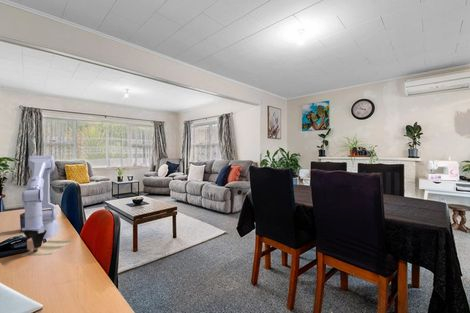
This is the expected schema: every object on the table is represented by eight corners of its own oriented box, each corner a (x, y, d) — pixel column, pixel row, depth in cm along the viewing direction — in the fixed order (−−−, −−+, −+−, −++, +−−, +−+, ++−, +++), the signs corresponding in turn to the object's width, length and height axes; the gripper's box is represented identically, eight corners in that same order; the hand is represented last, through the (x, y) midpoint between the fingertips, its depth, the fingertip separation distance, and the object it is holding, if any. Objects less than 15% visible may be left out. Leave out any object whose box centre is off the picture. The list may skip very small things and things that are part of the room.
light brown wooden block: (25, 248, 98) (25, 239, 98) (39, 244, 103) (39, 235, 103) (30, 250, 96) (29, 241, 96) (44, 246, 100) (44, 237, 100)
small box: (19, 232, 127) (18, 214, 126) (26, 228, 133) (26, 211, 133) (41, 230, 130) (40, 212, 129) (47, 226, 136) (47, 209, 136)
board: (48, 243, 111) (48, 230, 111) (73, 241, 112) (73, 229, 112) (20, 258, 95) (19, 244, 95) (50, 257, 96) (49, 243, 96)
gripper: (15, 216, 99) (17, 246, 100) (28, 221, 92) (30, 253, 92) (35, 212, 105) (37, 240, 106) (49, 216, 98) (50, 246, 98)
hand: (35, 246), depth 99 cm, fingers closed on light brown wooden block, 5 cm apart
